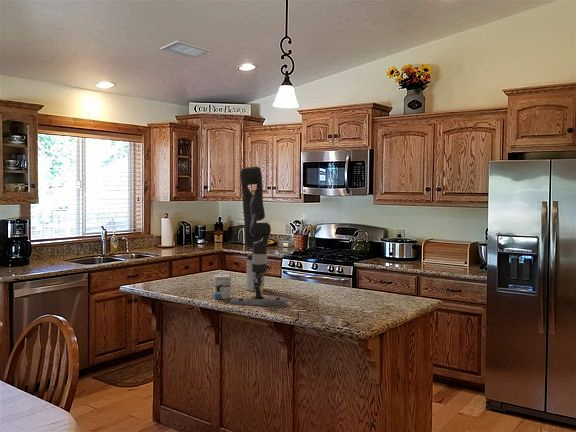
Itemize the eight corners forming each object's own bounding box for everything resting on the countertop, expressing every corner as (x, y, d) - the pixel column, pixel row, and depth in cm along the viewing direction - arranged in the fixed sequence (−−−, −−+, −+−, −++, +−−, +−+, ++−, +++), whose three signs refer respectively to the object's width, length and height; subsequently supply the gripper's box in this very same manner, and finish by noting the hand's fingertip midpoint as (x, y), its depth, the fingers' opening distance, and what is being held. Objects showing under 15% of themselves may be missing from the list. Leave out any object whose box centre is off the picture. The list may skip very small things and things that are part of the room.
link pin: (255, 299, 264) (256, 280, 263) (263, 300, 263) (264, 280, 262) (253, 301, 260) (254, 281, 259) (261, 302, 259) (262, 282, 258)
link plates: (233, 300, 267) (233, 293, 267) (287, 304, 262) (287, 296, 262) (229, 303, 260) (230, 296, 260) (285, 307, 256) (285, 299, 255)
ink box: (214, 299, 270) (214, 276, 270) (213, 297, 275) (213, 275, 275) (230, 298, 273) (231, 276, 272) (229, 296, 277) (229, 274, 277)
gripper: (255, 260, 268) (254, 293, 269) (248, 264, 254) (248, 299, 255) (269, 261, 267) (269, 294, 267) (263, 264, 253) (263, 300, 254)
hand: (258, 296), depth 261 cm, fingers closed on link pin, 3 cm apart
